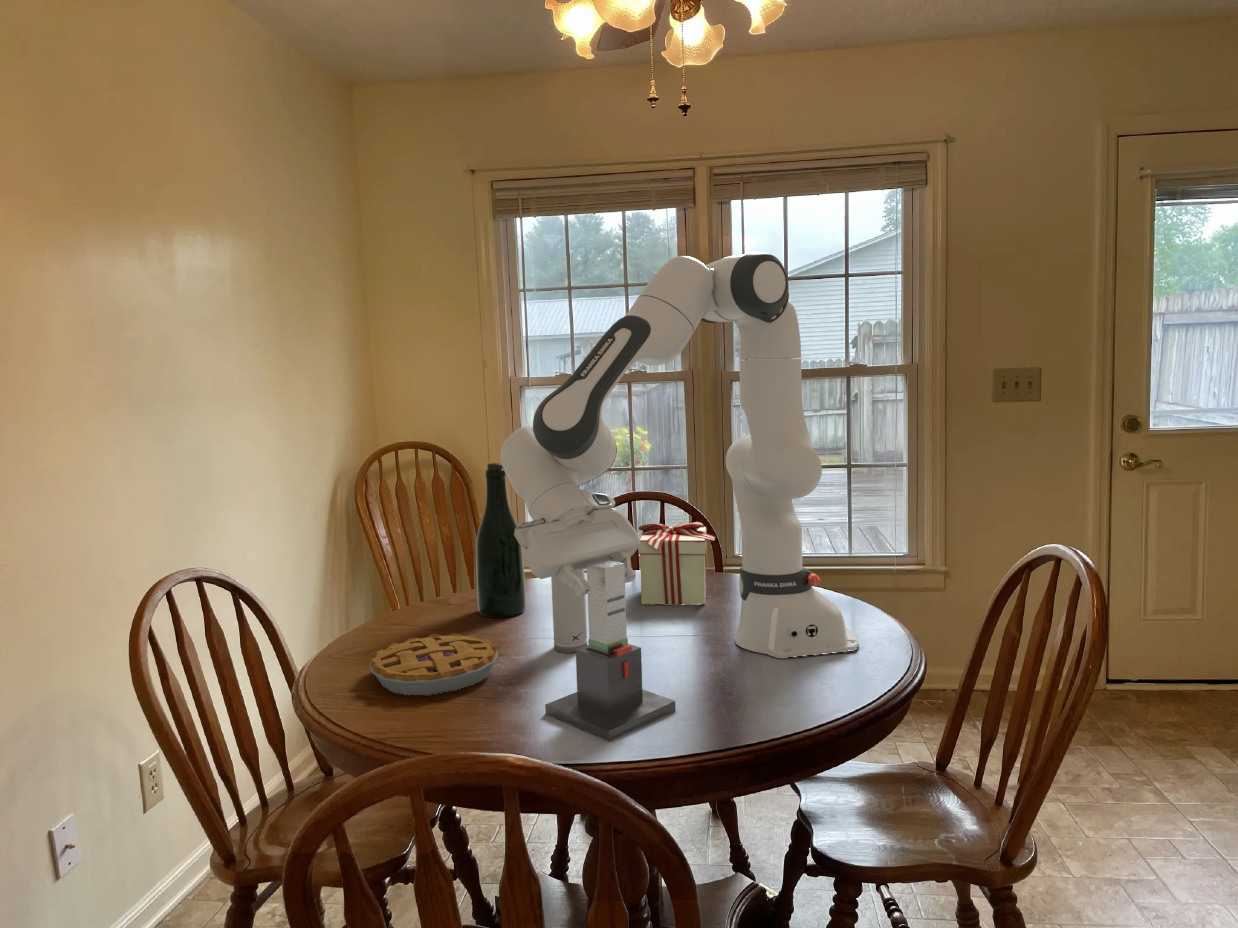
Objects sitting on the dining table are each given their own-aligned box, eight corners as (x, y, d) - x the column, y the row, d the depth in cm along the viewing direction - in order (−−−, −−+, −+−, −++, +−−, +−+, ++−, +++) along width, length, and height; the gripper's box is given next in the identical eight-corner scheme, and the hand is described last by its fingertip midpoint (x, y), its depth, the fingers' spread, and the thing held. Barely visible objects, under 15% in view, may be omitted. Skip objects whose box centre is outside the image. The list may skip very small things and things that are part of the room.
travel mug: (584, 653, 150) (580, 547, 148) (550, 652, 151) (545, 547, 149) (592, 642, 156) (588, 540, 154) (559, 641, 157) (555, 540, 155)
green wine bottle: (525, 603, 185) (518, 459, 181) (527, 616, 174) (520, 464, 171) (478, 607, 183) (470, 461, 179) (478, 620, 173) (469, 466, 169)
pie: (357, 670, 146) (355, 643, 145) (473, 646, 157) (471, 621, 156) (389, 711, 127) (387, 680, 127) (518, 681, 138) (517, 652, 138)
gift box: (640, 610, 176) (637, 532, 174) (640, 588, 195) (638, 517, 193) (718, 609, 176) (717, 530, 174) (712, 586, 194) (710, 515, 192)
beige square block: (609, 669, 126) (605, 559, 124) (629, 675, 123) (625, 563, 121) (589, 676, 123) (585, 564, 121) (609, 683, 120) (605, 568, 118)
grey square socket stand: (611, 687, 134) (609, 623, 132) (675, 710, 124) (673, 641, 122) (545, 713, 124) (542, 645, 123) (609, 741, 114) (606, 666, 113)
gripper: (518, 511, 118) (564, 588, 112) (618, 494, 132) (664, 561, 126) (501, 538, 122) (545, 614, 116) (600, 518, 136) (644, 585, 130)
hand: (608, 586), depth 121 cm, fingers open, 8 cm apart
